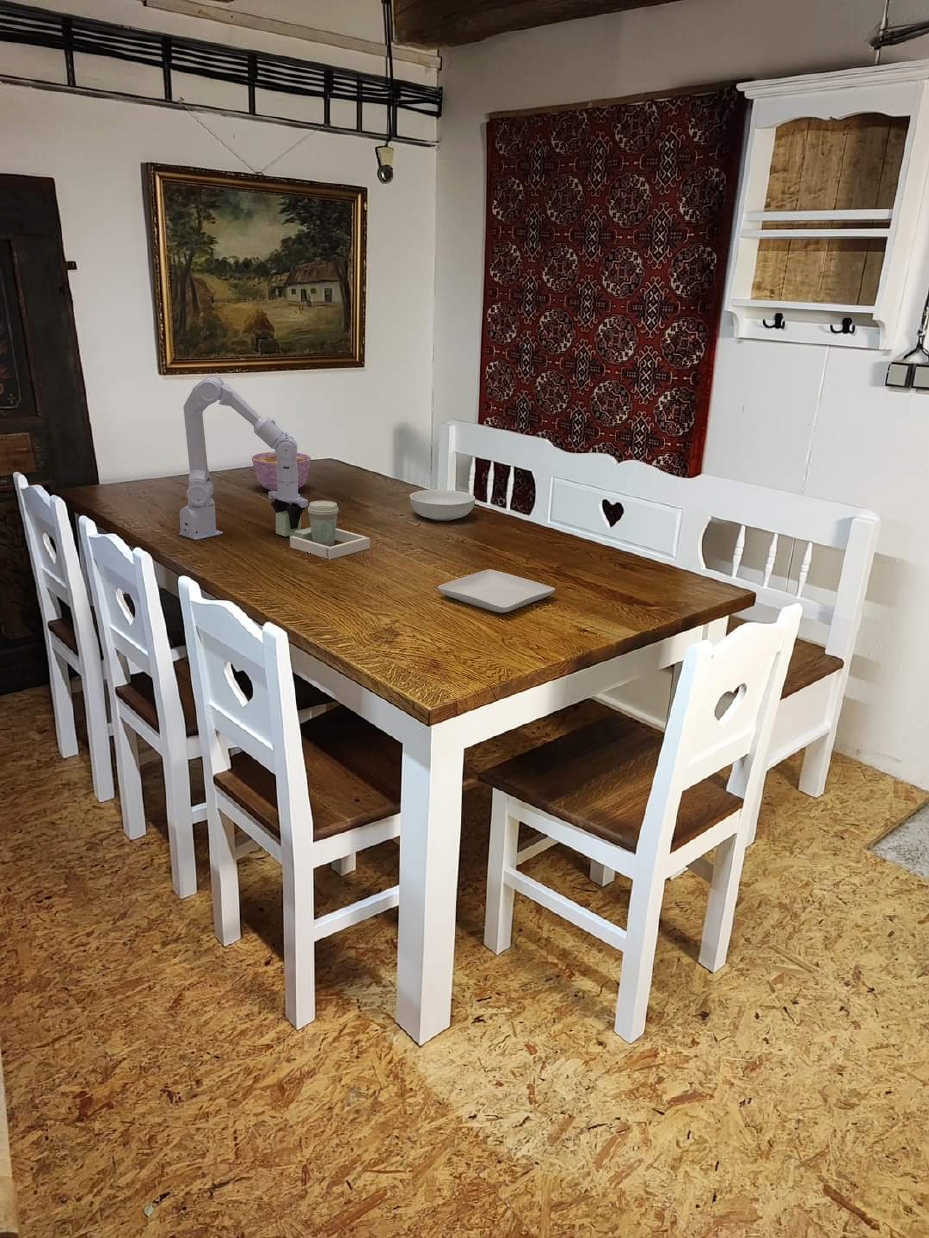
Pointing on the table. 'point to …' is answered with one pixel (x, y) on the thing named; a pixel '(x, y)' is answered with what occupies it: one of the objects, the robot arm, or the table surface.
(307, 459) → the bowl of food
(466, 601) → the salad plate
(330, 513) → the coffee cup
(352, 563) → the table surface
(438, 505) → the serving bowl
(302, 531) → the square dumbbell
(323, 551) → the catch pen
